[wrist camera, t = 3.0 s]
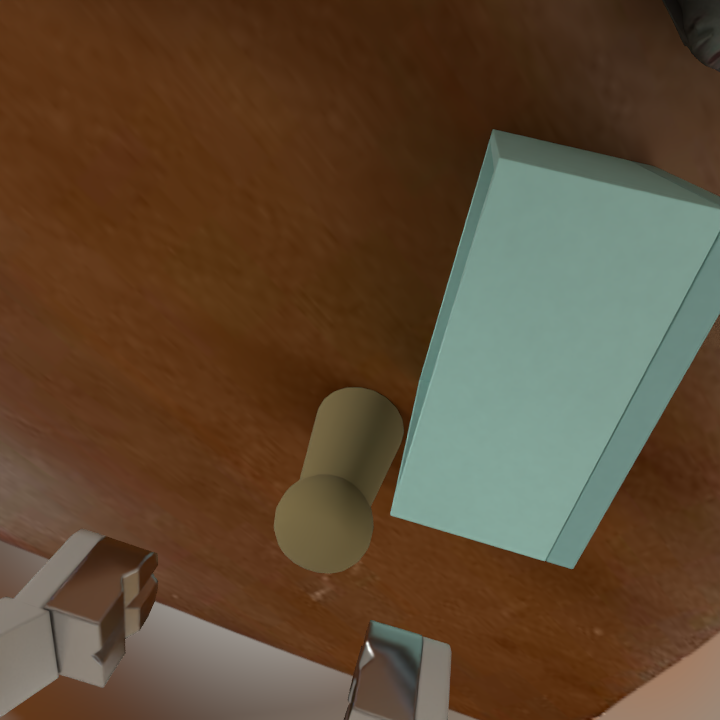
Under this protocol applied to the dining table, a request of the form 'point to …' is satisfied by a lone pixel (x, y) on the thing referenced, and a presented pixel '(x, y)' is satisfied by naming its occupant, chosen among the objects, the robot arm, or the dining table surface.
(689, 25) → the lucky cat figurine
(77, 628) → the robot arm
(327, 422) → the cork
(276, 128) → the dining table surface
